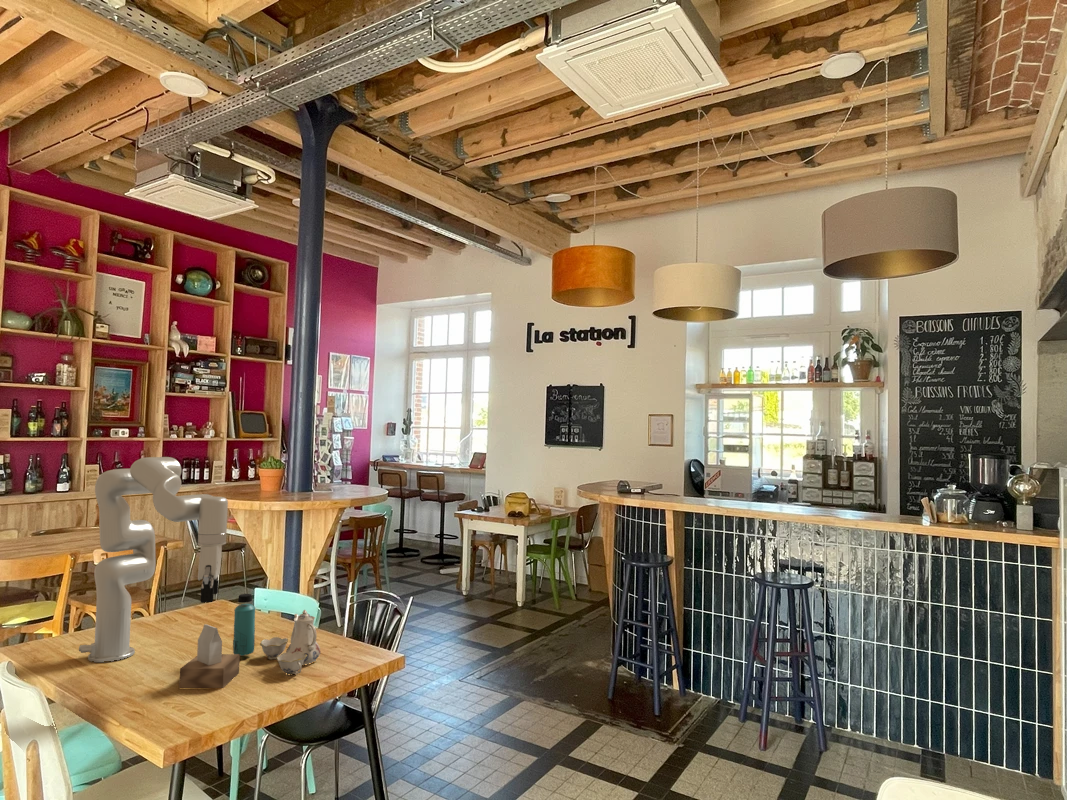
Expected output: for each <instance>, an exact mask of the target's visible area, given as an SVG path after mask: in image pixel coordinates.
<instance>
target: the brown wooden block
mask: <svg viewBox="0 0 1067 800" xmlns="http://www.w3.org/2000/svg"><path fill="white" fill-rule="evenodd" d="M240 657H241V656H240V654H234V653H229V654H228V653H226V654H224V653H222V659H221V662H219V663H216V664H212V665H207V664H204V663H202V662H200V661H197V655H196V656H195V657H193V658H192V659H190V661H188V662H187V663H186V664H184V665H183V666H181V667H180V668H179V681H178V682H179V685H178V686H179V687H178V689H179V688H223V689H224V688H225V687H227V686H228V684H229V683H230V682H231V681H233V680H234V679H235V678H236V677H237V676H238V675H239V674H240V660H241V659H240ZM234 677H235V678H234ZM233 678H234V679H233ZM232 679H233V680H232Z"/></svg>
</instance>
